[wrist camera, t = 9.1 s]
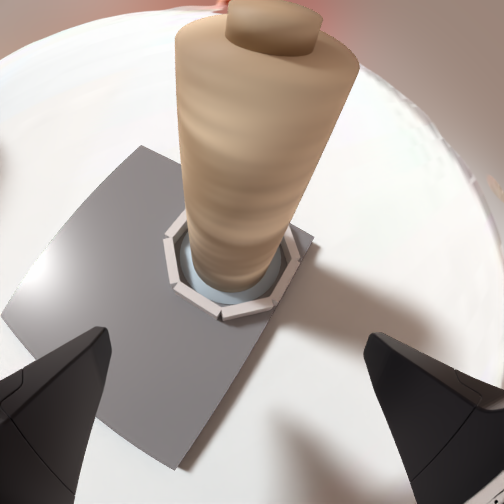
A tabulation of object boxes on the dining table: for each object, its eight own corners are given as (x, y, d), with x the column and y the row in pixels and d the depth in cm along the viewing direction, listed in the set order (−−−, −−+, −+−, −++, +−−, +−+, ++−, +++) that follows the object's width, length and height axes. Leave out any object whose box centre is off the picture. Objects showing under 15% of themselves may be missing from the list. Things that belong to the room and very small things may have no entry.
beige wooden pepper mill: (284, 255, 19) (395, 39, 6) (232, 309, 17) (303, 63, 4) (229, 209, 20) (264, -15, 7) (175, 254, 18) (136, 7, 5)
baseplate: (311, 242, 21) (318, 230, 19) (176, 466, 13) (172, 475, 12) (142, 151, 23) (139, 136, 21) (6, 318, 15) (-8, 312, 13)
